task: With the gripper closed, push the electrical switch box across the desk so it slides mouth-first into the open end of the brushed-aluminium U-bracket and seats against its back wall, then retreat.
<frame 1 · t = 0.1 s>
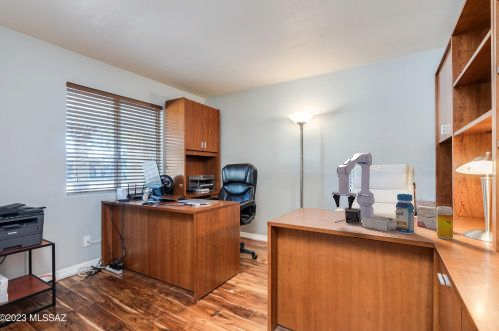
hand: (343, 207, 144), 10 cm above the table, tool pointing down, fingers open, 7 cm apart
bracket: (378, 226, 139), on the table
ink cartridge box: (426, 227, 138), on the table
white lidded yellow container: (444, 238, 116), on the table
electrical switch: (353, 222, 150), on the table
blue pill bottle: (404, 232, 127), on the table
long thin gray rod: (356, 222, 148), on the table
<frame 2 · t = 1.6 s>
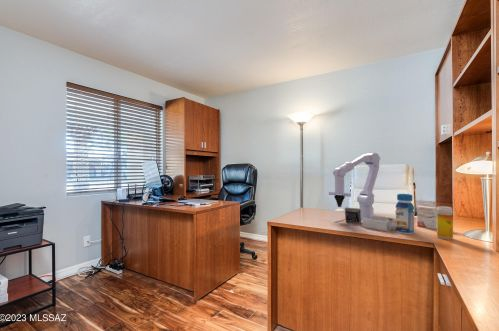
hand: (339, 206, 157), 9 cm above the table, tool pointing down, fingers closed
nothing on the table moved.
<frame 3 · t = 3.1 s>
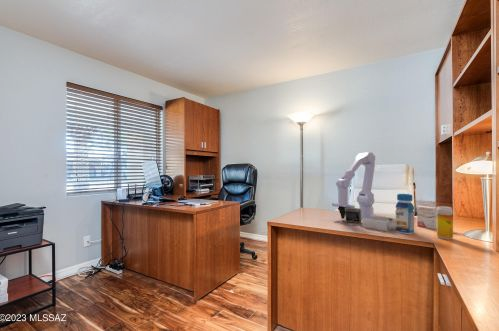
hand: (343, 218, 155), 1 cm above the table, tool pointing down, fingers closed
electrical switch: (353, 222, 150), on the table, touching gripper
everything else where it was.
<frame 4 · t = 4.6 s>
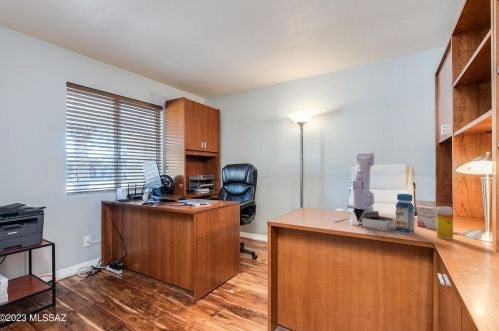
hand: (359, 221, 147), 1 cm above the table, tool pointing down, fingers closed
electrical switch: (367, 224, 144), on the table, touching gripper
everything else where it was.
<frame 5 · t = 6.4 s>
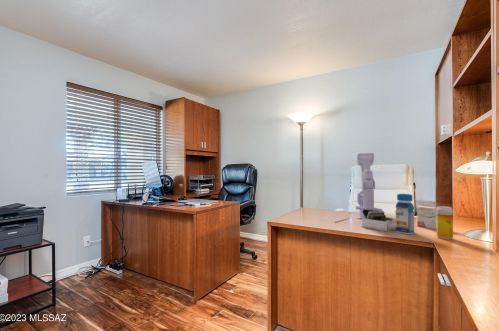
hand: (368, 223, 143), 1 cm above the table, tool pointing down, fingers closed
electrical switch: (375, 226, 139), on the table, touching gripper
everything else where it was.
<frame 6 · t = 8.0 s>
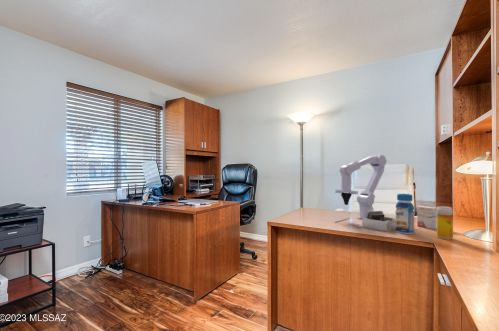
hand: (346, 204, 157), 10 cm above the table, tool pointing down, fingers closed
electrical switch: (375, 226, 139), on the table
everything else where it was.
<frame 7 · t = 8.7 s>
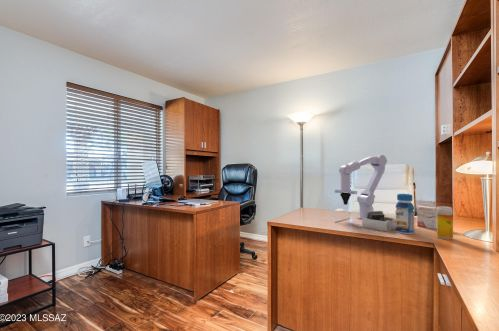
hand: (345, 204, 158), 10 cm above the table, tool pointing down, fingers closed
nothing on the table moved.
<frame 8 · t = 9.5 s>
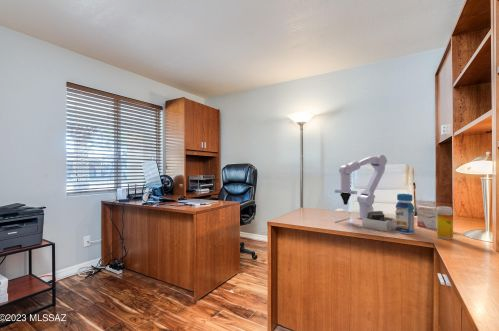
hand: (345, 204, 158), 10 cm above the table, tool pointing down, fingers closed
nothing on the table moved.
at the end: electrical switch inside the target area on the bracket (1.6 cm from its centre), point 0.0 cm above the bracket's base; electrical switch tilted 0° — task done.
